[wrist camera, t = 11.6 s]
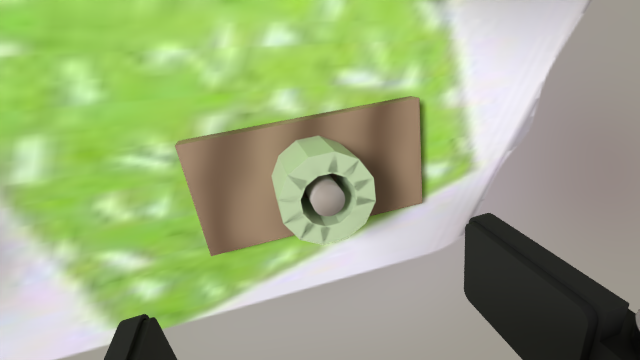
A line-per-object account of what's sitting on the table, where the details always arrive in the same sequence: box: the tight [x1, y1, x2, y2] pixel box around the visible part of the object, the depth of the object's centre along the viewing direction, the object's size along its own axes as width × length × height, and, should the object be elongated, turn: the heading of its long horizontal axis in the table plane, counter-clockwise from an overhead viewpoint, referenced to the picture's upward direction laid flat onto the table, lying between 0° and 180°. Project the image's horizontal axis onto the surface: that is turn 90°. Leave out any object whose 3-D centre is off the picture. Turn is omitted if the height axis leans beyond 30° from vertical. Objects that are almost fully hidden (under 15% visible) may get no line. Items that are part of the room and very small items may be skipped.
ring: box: [272, 136, 376, 245], centre depth 26 cm, size 7×7×5 cm
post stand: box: [175, 96, 422, 256], centre depth 26 cm, size 20×10×6 cm, turn 99°
